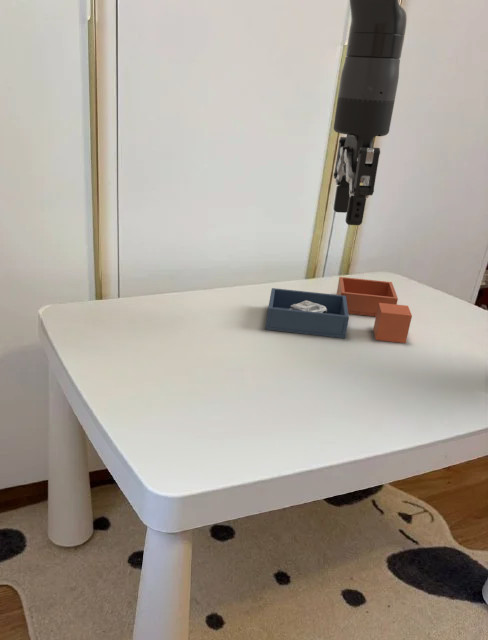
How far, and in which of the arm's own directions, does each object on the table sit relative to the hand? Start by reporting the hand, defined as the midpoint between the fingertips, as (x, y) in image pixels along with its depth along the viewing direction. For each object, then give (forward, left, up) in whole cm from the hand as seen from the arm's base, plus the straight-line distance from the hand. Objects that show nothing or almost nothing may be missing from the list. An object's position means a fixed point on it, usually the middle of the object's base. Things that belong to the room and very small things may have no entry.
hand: (346, 217), depth 93 cm
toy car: (+3, -1, -17) cm, 17 cm away
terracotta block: (-9, +1, -17) cm, 19 cm away
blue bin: (+4, -1, -17) cm, 18 cm away
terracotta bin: (-6, -12, -17) cm, 22 cm away
